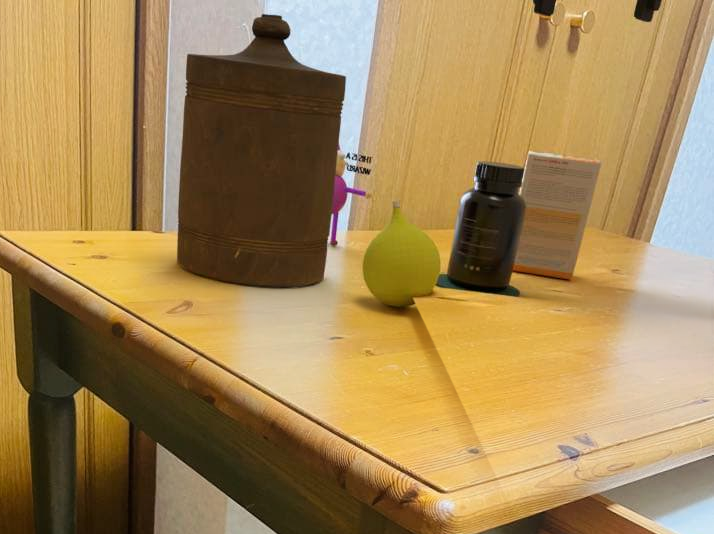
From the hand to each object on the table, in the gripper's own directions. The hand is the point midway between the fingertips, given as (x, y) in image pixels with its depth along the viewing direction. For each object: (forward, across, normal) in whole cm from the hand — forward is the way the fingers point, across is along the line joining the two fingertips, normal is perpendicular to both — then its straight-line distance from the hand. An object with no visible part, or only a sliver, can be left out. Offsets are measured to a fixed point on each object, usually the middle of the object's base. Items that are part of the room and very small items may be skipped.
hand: (591, 17), depth 78 cm
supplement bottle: (+25, +5, +3) cm, 26 cm away
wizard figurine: (+25, +26, +2) cm, 36 cm away
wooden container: (+25, +21, +22) cm, 39 cm away
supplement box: (+26, +5, -13) cm, 29 cm away
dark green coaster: (+25, +5, +3) cm, 26 cm away
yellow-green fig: (+25, +5, +20) cm, 32 cm away
